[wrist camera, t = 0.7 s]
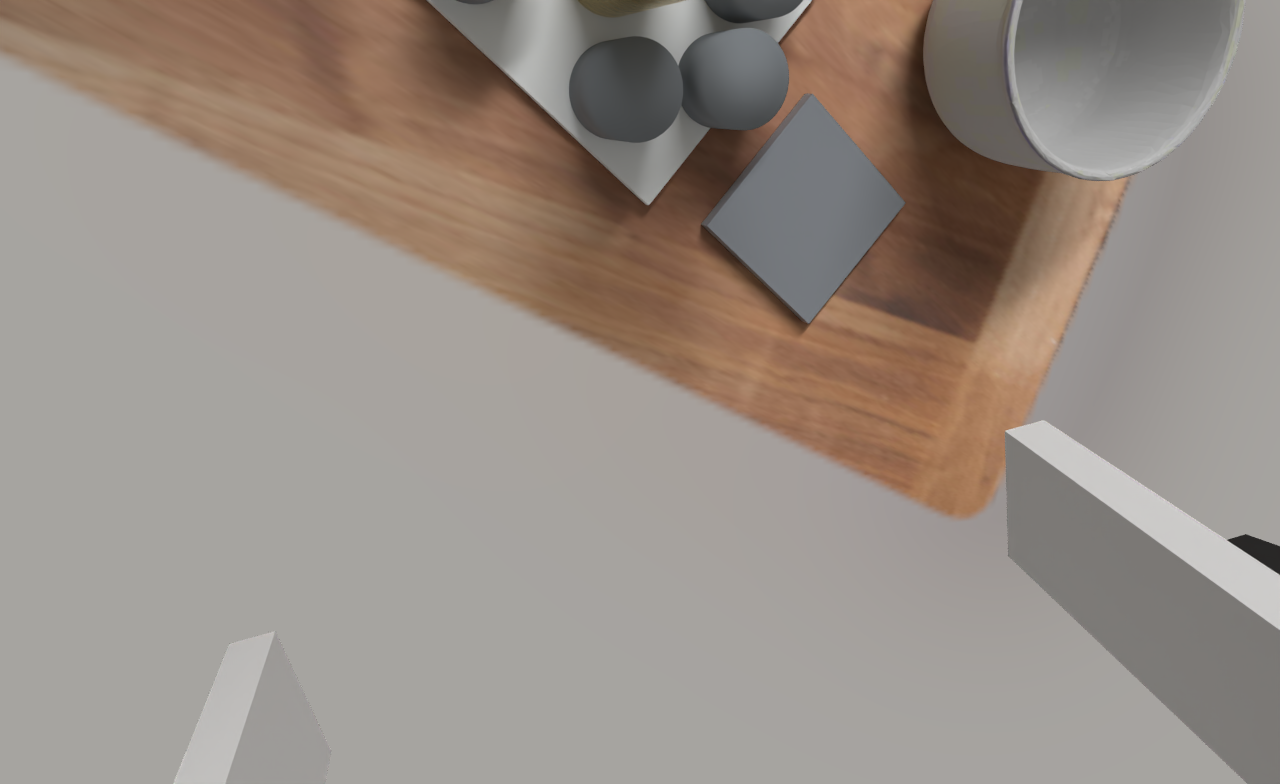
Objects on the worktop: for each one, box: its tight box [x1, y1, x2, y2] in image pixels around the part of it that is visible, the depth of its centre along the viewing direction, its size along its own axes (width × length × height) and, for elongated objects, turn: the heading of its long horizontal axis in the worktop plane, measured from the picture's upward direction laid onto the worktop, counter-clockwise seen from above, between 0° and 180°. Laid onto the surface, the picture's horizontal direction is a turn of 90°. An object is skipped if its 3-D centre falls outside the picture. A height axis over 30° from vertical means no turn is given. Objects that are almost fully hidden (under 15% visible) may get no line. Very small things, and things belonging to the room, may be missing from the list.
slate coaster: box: [701, 94, 905, 324], centre depth 38 cm, size 7×7×1 cm
